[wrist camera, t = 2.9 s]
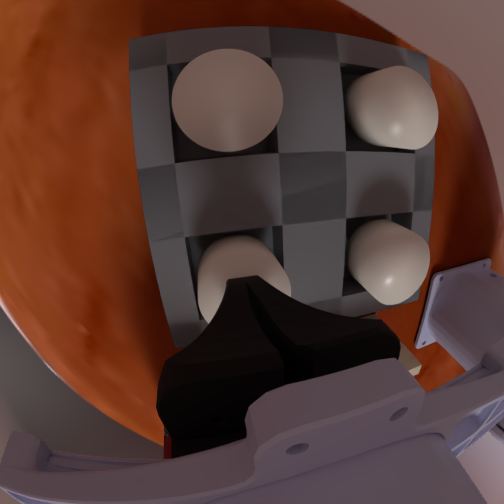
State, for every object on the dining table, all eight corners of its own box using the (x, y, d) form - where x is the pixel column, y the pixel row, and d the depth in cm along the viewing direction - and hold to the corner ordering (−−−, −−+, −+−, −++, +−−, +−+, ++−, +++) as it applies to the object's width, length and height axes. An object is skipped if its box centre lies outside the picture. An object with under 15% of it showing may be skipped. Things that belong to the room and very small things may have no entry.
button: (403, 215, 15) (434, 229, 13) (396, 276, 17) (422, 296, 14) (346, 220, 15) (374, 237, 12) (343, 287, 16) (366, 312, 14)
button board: (398, 62, 14) (427, 55, 11) (395, 281, 20) (417, 299, 17) (141, 56, 12) (129, 39, 9) (177, 318, 18) (175, 348, 15)
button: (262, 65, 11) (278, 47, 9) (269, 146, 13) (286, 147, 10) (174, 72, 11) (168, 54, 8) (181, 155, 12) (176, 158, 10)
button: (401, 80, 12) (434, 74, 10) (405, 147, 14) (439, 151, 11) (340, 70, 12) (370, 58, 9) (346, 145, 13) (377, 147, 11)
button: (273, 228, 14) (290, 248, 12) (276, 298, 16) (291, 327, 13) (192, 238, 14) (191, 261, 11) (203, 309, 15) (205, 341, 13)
